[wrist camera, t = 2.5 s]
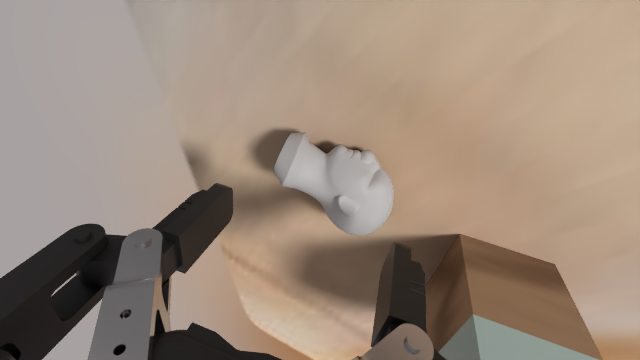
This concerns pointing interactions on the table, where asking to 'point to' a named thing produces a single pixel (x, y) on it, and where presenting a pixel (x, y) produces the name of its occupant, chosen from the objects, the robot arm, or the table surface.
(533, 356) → the tower top
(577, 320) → the tower bottom
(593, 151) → the table surface
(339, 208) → the mannequin head
